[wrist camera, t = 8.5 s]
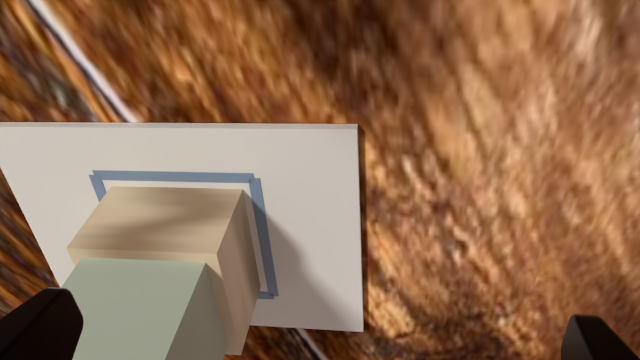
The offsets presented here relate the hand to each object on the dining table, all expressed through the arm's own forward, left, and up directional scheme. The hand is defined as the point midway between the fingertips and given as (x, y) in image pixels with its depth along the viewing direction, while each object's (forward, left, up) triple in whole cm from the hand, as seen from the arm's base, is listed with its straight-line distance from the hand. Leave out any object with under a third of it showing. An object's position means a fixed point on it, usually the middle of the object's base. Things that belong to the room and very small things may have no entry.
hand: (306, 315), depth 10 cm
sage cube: (+8, +9, -8) cm, 14 cm away
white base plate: (+8, +9, -12) cm, 17 cm away
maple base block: (+8, +9, -12) cm, 17 cm away
